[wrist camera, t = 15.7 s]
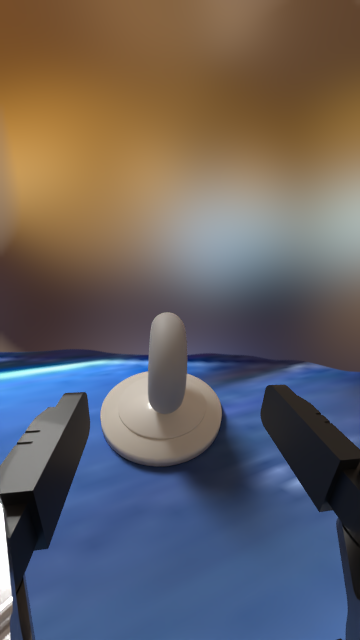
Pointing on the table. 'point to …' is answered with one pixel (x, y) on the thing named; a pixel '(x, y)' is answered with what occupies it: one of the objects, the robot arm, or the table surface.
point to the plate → (160, 423)
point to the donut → (167, 363)
